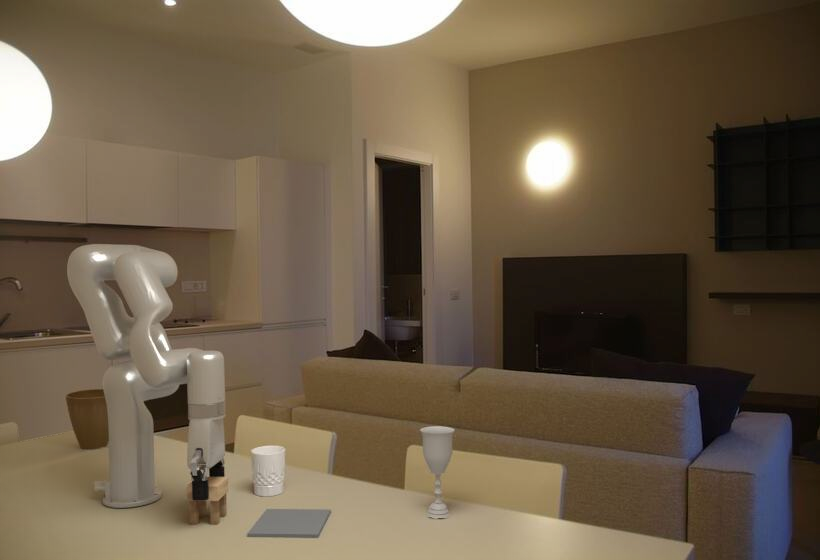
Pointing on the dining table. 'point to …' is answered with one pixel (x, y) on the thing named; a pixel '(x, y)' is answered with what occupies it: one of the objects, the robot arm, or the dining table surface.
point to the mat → (290, 523)
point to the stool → (216, 498)
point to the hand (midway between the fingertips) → (209, 492)
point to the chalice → (437, 462)
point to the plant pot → (89, 417)
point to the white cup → (268, 470)
